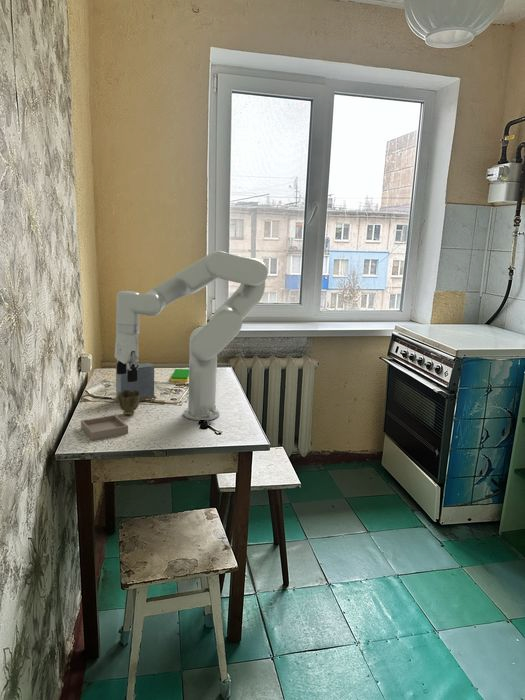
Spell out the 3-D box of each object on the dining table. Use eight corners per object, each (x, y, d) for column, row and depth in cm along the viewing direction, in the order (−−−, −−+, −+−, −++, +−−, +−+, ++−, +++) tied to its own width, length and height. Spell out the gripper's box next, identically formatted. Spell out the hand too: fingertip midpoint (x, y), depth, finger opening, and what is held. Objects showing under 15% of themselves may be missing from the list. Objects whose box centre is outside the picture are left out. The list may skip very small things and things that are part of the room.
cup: (143, 411, 172) (143, 390, 170) (135, 419, 164) (135, 396, 163) (122, 409, 172) (122, 388, 170) (114, 417, 165) (114, 394, 163)
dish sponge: (190, 374, 223) (191, 369, 222) (187, 383, 209) (187, 377, 209) (175, 373, 222) (175, 368, 222) (170, 382, 209) (170, 377, 208)
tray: (128, 433, 152) (128, 425, 152) (92, 440, 146) (92, 432, 145) (115, 421, 161) (115, 414, 161) (81, 427, 154) (80, 420, 154)
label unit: (155, 398, 186) (156, 366, 183) (120, 404, 177) (120, 370, 174) (149, 394, 190) (149, 362, 187) (114, 399, 182) (114, 366, 179)
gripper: (107, 324, 166) (107, 372, 170) (126, 334, 153) (125, 385, 156) (128, 323, 170) (127, 370, 174) (149, 333, 157) (147, 383, 161)
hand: (126, 377), depth 165 cm, fingers open, 9 cm apart
